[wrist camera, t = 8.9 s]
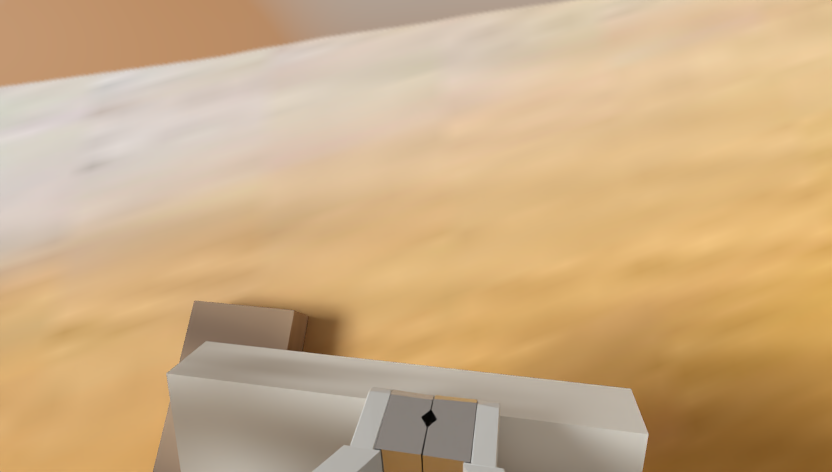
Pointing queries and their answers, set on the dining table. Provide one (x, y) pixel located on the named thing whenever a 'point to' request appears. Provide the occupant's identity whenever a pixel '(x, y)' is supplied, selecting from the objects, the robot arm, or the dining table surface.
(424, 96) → the dining table surface
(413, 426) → the robot arm
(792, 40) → the dining table surface
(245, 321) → the walnut boards
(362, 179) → the dining table surface
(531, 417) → the ash plank
